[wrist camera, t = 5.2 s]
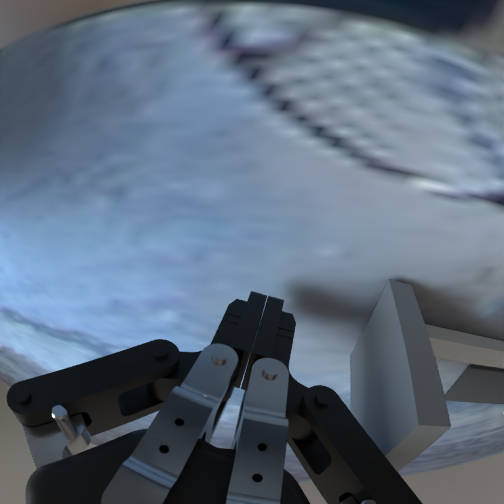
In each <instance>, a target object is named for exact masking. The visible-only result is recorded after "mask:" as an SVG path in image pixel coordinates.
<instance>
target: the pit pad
mask: <svg viewBox="0 0 504 504" xmlns="http://www.w3.org/2000/svg"><path fill="white" fill-rule="evenodd" d="M445 400H449V401H461V402H475V403H493V404H504V370H503V369H495V368H488V367H481V366H474V365H469V366H468V367H467V369H466V370H465V371H464V373H463V374H462V375H461V376H460V378H459V379H458V380H457V381H456V382H455V384H454V385H453V386H452V387H451V388H450V389H449V391H448V392H447V393H446V394H445Z"/></svg>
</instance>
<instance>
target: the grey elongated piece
mask: <svg viewBox="0 0 504 504" xmlns="http://www.w3.org/2000/svg"><path fill="white" fill-rule="evenodd" d="M435 358H439V359H445V360H451V361H457V362H463V363H470V364H476V365H483V366H490V367H497V368H504V341H501V340H496V339H491V338H487V337H482V336H477V335H472V334H468V333H463V332H459V331H454V330H450V329H445V328H441V327H436V326H432V325H427V324H425V323H424V320H423V317H422V314H421V311H420V308H419V305H418V302H417V299H416V296H415V294H414V291H413V288H412V285H409V284H405V283H402V282H398V281H394V280H391V279H388V281H387V284H386V286H385V288H384V290H383V292H382V294H381V297H380V299H379V301H378V303H377V305H376V307H375V309H374V311H373V313H372V315H371V317H370V319H369V321H368V323H367V325H366V327H365V329H364V331H363V333H362V335H361V337H360V339H359V340H358V342H357V344H356V346H355V348H354V350H353V352H352V353H351V355H350V372H351V397H350V412H351V413H352V414H353V415H354V417H355V418H356V419H357V421H358V422H359V423H360V425H361V426H362V427H363V428H364V430H365V431H366V432H367V434H368V435H369V436H370V437H371V439H372V440H373V441H374V443H375V444H376V445H377V447H378V448H379V449H380V450H381V452H382V453H383V454H384V456H385V457H386V458H387V459H388V461H389V462H390V463H391V464H392V466H393V467H394V468H395V470H396V471H397V472H398V471H399V470H400V469H402V468H403V467H404V466H406V465H407V464H408V463H410V462H411V461H412V460H413V459H415V458H416V457H417V456H418V455H420V454H421V453H422V452H423V451H424V450H426V449H427V448H428V447H429V446H430V445H432V444H433V443H434V442H435V441H436V440H437V439H438V438H440V437H441V436H442V435H443V434H444V433H445V432H446V431H447V430H448V429H449V428H450V427H451V424H450V419H449V414H448V409H447V404H446V400H445V395H444V391H443V387H442V383H441V379H440V375H439V371H438V367H437V364H436V360H435Z"/></svg>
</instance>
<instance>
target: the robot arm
mask: <svg viewBox="0 0 504 504" xmlns="http://www.w3.org/2000/svg"><path fill="white" fill-rule="evenodd" d="M266 298H267V295H263V294H260V293H256V292H253V291H251V293H250V296H249V298H248V301H247V302H246V301H243V300H239V299H236V300H235V301H233V302H232V303H230V304H229V306H228V308H227V310H226V312H225V314H224V316H223V319H222V321H221V323H220V325H219V327H218V329H217V332H216V334H215V336H214V338H213V340H212V342H211V344H210V345H208V346H207V347H205V348H204V349H203V350H202V351H199V352H179V349H178V348H177V346H176V345H175V344H174V343H172V342H170V341H168V340H163V339H157V340H153V341H150V342H147V343H144V344H141V345H138V346H135V347H132V348H129V349H126V350H123V351H120V352H117V353H114V354H111V355H107V356H104V357H101V358H98V359H95V360H92V361H88V362H85V363H82V364H79V365H75V366H72V367H69V368H66V369H62V370H59V371H55V372H52V373H49V374H45V375H42V376H38V377H35V378H31V379H27V380H24V381H20V382H17V383H15V384H14V385H12V387H11V388H10V389H9V391H8V394H7V403H8V406H9V407H10V409H11V410H12V411H13V413H14V414H15V416H16V418H17V420H18V421H19V422H20V424H21V425H22V426H23V429H24V433H25V436H26V439H27V442H28V445H29V448H30V451H31V454H32V457H33V460H34V463H35V466H36V468H37V470H36V471H35V472H33V474H32V475H31V476H30V478H29V480H28V483H27V485H26V504H310V502H309V501H308V499H307V497H306V496H305V494H304V492H303V491H302V489H301V487H300V486H299V484H298V482H297V481H296V480H295V479H294V477H293V476H292V475H291V474H290V473H289V472H287V471H286V470H285V469H284V464H285V454H286V444H287V442H288V444H289V445H290V447H291V449H292V450H293V452H294V453H295V455H296V457H297V458H298V460H299V461H300V463H301V464H302V466H303V467H304V469H305V471H306V472H307V474H308V475H309V477H310V478H311V480H312V481H313V483H314V484H315V486H316V487H317V489H318V490H319V492H320V493H321V495H322V496H323V497H324V499H325V500H326V502H327V503H328V504H422V503H421V501H420V500H419V499H418V498H417V496H416V495H415V494H414V492H413V491H412V490H411V489H410V487H409V486H408V485H407V484H406V482H405V481H404V480H403V478H402V477H401V476H400V475H399V473H398V472H397V471H396V470H395V468H394V467H393V466H392V464H391V463H390V462H389V461H388V459H387V458H386V457H385V456H384V454H383V453H382V452H381V450H380V449H379V448H378V447H377V445H376V444H375V443H374V441H373V440H372V439H371V437H370V436H369V435H368V434H367V432H366V431H365V430H364V428H363V427H362V426H361V425H360V423H359V422H358V421H357V419H356V418H355V417H354V415H353V414H352V413H351V412H350V410H349V409H348V408H347V406H346V405H345V404H344V402H343V401H342V400H341V398H340V397H339V396H338V394H337V393H336V392H335V391H334V390H332V389H331V388H329V387H326V386H322V385H317V386H313V387H310V388H308V387H306V386H304V385H302V384H300V383H299V382H297V381H296V380H295V379H294V378H293V377H292V376H291V374H290V372H289V360H290V354H291V349H292V343H293V337H294V332H295V326H296V322H295V319H294V317H293V314H290V313H286V312H283V311H282V308H283V303H284V300H282V299H278V298H275V297H271V296H268V299H267V302H266ZM265 302H266V306H265ZM264 306H265V309H264ZM263 309H264V312H263ZM262 313H263V315H262ZM261 317H262V319H261ZM260 320H261V322H260ZM259 324H260V325H259ZM257 331H258V332H257ZM256 334H257V335H256ZM255 337H256V338H255ZM252 347H253V348H252ZM251 350H252V351H251ZM250 353H251V354H250ZM249 356H250V358H249ZM248 360H249V361H248ZM247 363H248V365H247ZM246 366H247V369H246ZM245 369H246V372H245ZM244 372H245V376H244V379H243V383H242V386H241V389H244V390H245V393H244V396H243V399H242V403H241V406H240V411H239V415H238V420H237V425H236V429H235V434H234V439H233V443H232V447H231V449H223V448H217V447H214V446H213V445H211V444H210V441H211V438H212V436H213V433H214V431H215V429H216V427H217V425H218V423H219V421H220V418H221V416H222V414H223V412H224V410H225V408H226V405H227V403H228V400H229V398H230V397H231V395H232V392H233V389H234V387H237V388H240V384H241V381H242V378H243V375H244ZM159 410H160V411H159ZM156 411H159V412H158V414H157V415H156V417H155V419H154V420H153V422H152V423H151V425H150V426H149V428H148V429H142V430H137V431H133V432H130V433H128V434H126V435H123V436H121V437H118V438H116V439H114V440H111V441H109V442H106V443H104V444H101V445H99V446H96V447H94V448H91V449H88V450H86V451H84V452H81V451H83V450H85V449H86V448H87V447H88V445H89V444H90V441H91V436H93V435H96V434H99V433H102V432H104V431H107V430H110V429H113V428H115V427H118V426H121V425H124V424H126V423H129V422H131V421H134V420H136V419H139V418H142V417H144V416H147V415H149V414H151V413H154V412H156ZM79 452H80V453H79Z"/></svg>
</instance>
